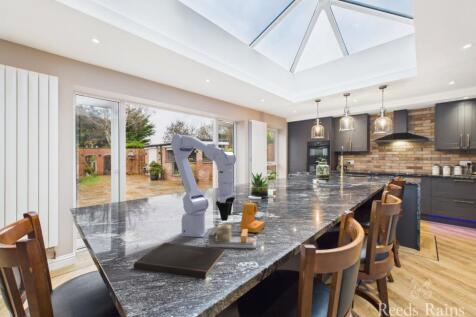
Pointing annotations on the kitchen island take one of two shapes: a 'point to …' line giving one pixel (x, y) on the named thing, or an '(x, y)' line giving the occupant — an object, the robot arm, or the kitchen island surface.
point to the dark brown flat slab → (180, 260)
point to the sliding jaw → (244, 235)
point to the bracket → (250, 218)
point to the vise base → (231, 241)
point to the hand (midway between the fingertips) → (226, 217)
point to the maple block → (224, 233)
